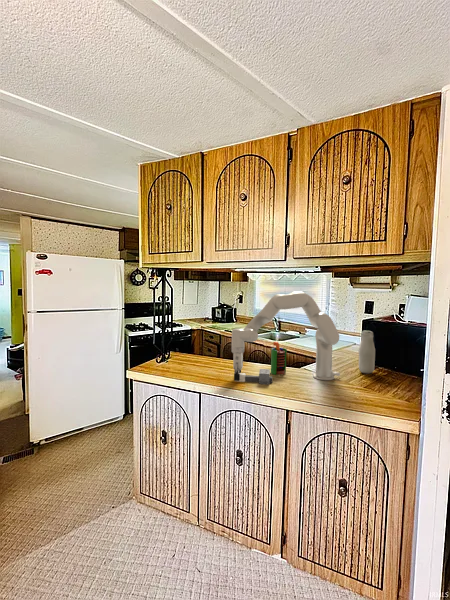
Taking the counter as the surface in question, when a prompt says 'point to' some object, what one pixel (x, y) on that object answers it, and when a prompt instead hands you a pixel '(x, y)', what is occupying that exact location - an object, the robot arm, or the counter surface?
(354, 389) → the counter surface
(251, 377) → the plug
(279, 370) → the motor
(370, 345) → the light grey bottle
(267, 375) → the housing
